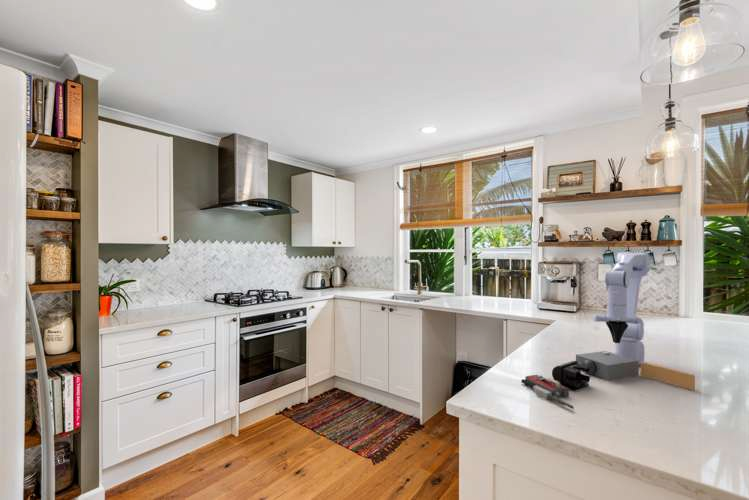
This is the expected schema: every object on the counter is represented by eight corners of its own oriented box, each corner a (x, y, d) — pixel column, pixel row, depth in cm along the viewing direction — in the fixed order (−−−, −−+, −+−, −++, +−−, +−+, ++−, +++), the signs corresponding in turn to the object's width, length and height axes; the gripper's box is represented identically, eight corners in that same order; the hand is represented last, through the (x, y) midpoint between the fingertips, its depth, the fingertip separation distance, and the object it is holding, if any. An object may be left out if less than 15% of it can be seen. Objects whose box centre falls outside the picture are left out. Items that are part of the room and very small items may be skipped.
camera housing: (605, 364, 131) (605, 349, 131) (638, 375, 120) (638, 359, 120) (572, 368, 126) (572, 353, 126) (604, 380, 114) (604, 363, 114)
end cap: (567, 378, 117) (568, 358, 116) (590, 385, 111) (590, 364, 111) (551, 384, 111) (551, 363, 111) (574, 392, 105) (574, 370, 105)
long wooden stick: (640, 375, 119) (640, 362, 119) (642, 374, 119) (642, 361, 119) (693, 390, 107) (693, 375, 107) (695, 389, 107) (695, 374, 107)
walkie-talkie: (515, 385, 111) (569, 413, 92) (515, 371, 111) (570, 397, 92) (536, 382, 114) (593, 408, 95) (537, 368, 114) (593, 392, 95)
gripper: (599, 305, 120) (599, 344, 120) (646, 307, 118) (645, 346, 118) (590, 302, 127) (590, 339, 127) (634, 303, 125) (634, 341, 125)
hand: (616, 342), depth 123 cm, fingers closed
